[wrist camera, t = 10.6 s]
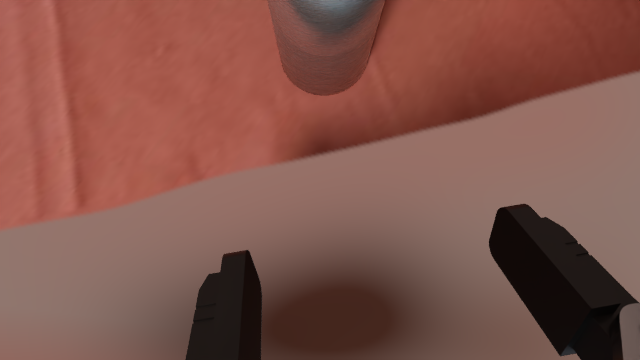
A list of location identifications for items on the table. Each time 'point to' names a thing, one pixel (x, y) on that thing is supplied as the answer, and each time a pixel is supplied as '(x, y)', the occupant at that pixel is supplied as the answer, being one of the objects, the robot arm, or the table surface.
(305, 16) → the salt shaker
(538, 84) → the table surface
